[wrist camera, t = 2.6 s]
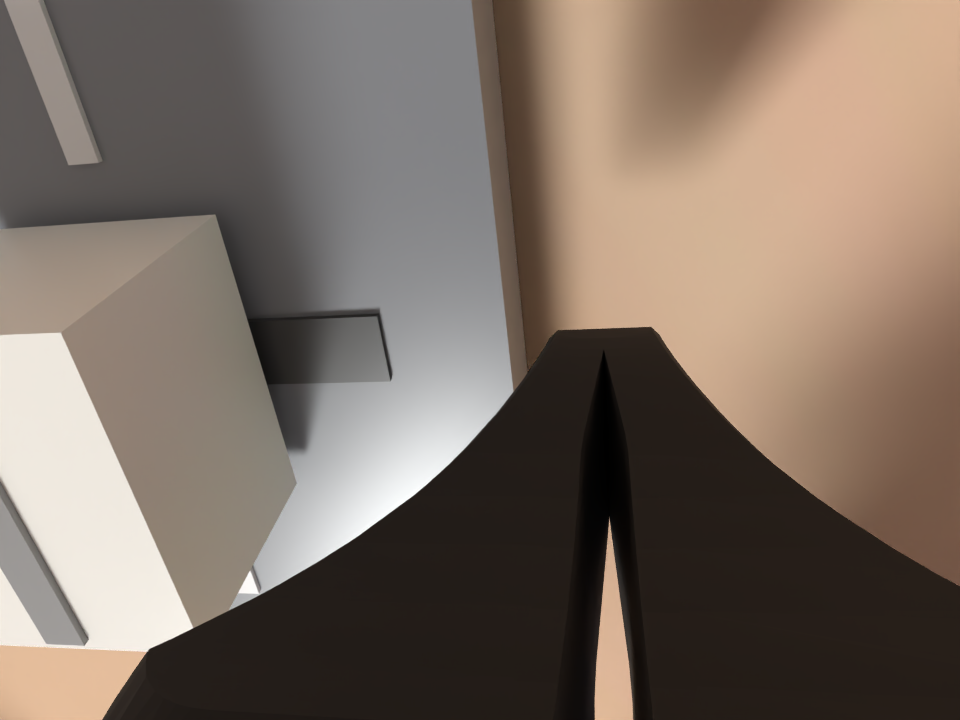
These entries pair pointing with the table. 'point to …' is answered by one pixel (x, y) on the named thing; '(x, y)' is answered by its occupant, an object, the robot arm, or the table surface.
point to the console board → (299, 212)
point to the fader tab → (128, 434)
